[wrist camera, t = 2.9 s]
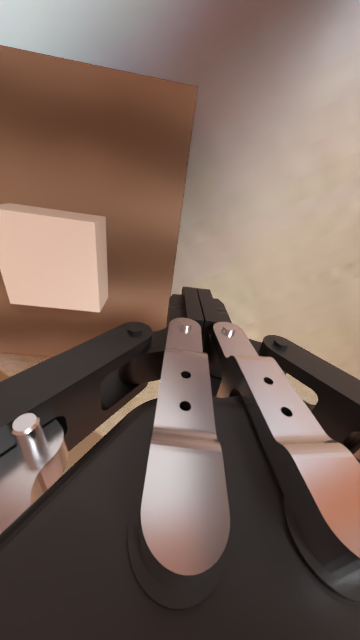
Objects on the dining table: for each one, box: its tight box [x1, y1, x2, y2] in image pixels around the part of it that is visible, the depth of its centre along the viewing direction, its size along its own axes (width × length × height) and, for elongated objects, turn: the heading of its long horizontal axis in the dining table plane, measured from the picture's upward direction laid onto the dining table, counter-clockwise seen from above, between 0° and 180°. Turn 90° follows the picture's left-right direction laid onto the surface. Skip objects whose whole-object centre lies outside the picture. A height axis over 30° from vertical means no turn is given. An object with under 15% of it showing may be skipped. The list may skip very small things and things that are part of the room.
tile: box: [0, 203, 108, 312], centre depth 15 cm, size 6×6×2 cm
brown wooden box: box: [0, 45, 198, 357], centre depth 18 cm, size 20×18×6 cm
